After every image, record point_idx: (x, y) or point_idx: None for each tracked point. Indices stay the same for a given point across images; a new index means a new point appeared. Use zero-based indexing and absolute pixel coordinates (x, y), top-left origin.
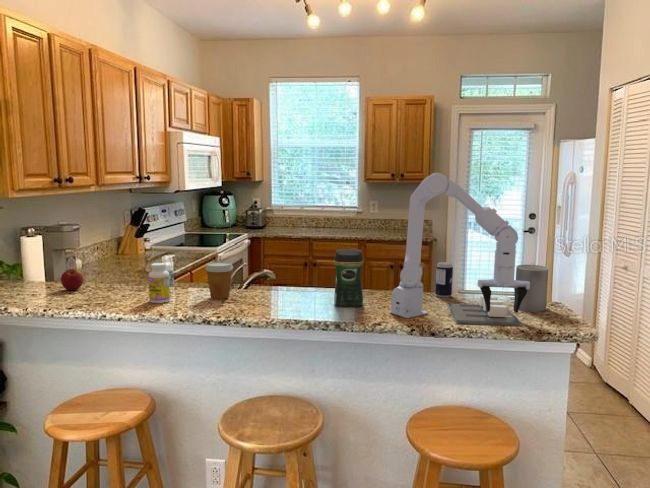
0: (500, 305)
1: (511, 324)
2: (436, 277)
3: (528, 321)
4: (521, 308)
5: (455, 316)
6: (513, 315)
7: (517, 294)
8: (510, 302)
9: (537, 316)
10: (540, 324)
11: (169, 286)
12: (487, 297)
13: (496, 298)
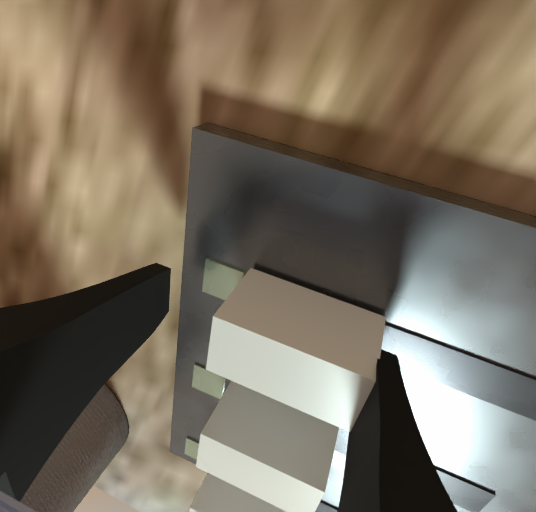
0: (250, 377)
1: (272, 144)
2: None
3: (124, 217)
4: (103, 397)
5: None
6: (185, 300)
7: (29, 378)
8: (126, 480)
9: (59, 290)
10: (69, 141)
11: None
12: (421, 488)
13: (198, 504)
